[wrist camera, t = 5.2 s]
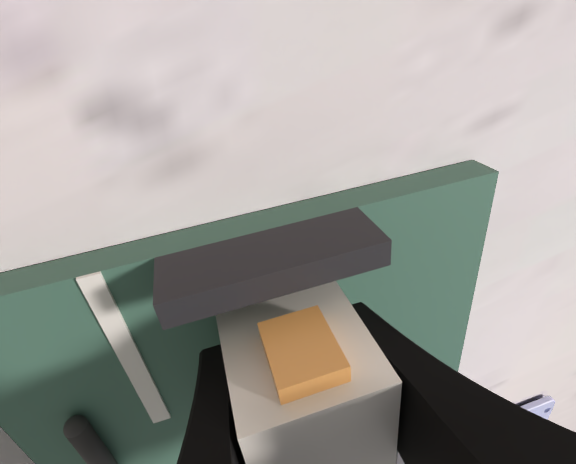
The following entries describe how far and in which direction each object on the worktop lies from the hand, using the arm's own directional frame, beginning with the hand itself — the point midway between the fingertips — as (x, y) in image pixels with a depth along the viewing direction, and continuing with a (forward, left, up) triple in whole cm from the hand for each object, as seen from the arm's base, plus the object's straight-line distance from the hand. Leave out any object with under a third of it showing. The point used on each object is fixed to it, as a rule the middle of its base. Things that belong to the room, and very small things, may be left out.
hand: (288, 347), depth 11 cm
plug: (0, 0, -1) cm, 1 cm away
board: (-4, 0, -3) cm, 5 cm away
